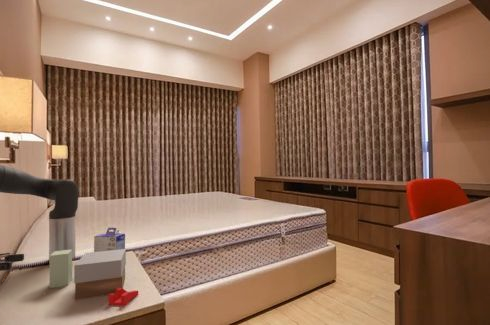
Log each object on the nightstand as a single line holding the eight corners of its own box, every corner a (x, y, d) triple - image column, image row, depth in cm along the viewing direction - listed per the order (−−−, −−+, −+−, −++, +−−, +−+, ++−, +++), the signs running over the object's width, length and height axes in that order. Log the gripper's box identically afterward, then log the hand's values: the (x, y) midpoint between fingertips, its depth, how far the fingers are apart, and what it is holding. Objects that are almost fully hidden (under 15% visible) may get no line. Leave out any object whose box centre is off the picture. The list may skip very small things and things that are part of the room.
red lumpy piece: (125, 307, 70) (125, 295, 70) (108, 306, 71) (108, 294, 71) (138, 295, 76) (138, 285, 76) (122, 294, 77) (122, 284, 77)
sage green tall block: (54, 281, 87) (54, 251, 87) (72, 279, 89) (72, 249, 89) (49, 288, 82) (49, 255, 82) (68, 285, 84) (68, 253, 84)
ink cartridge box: (126, 265, 101) (125, 227, 102) (116, 270, 96) (116, 230, 96) (103, 264, 103) (103, 226, 103) (92, 269, 98) (92, 229, 98)
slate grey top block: (85, 268, 85) (85, 253, 86) (125, 263, 89) (125, 248, 89) (74, 283, 74) (74, 265, 74) (121, 277, 78) (121, 260, 78)
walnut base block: (84, 284, 85) (84, 268, 85) (125, 278, 89) (125, 263, 89) (75, 301, 74) (75, 283, 74) (122, 293, 78) (122, 276, 78)
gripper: (-71, 262, 69) (7, 255, 75) (-37, 248, 82) (27, 243, 88) (-73, 291, 69) (6, 282, 74) (-38, 273, 82) (27, 266, 88)
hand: (17, 261), depth 81 cm, fingers open, 8 cm apart
